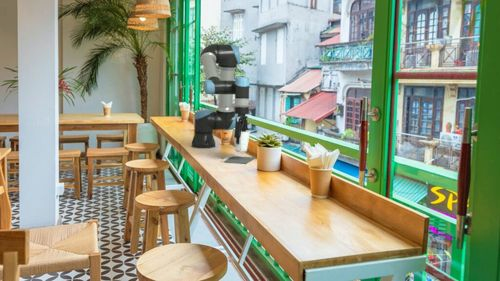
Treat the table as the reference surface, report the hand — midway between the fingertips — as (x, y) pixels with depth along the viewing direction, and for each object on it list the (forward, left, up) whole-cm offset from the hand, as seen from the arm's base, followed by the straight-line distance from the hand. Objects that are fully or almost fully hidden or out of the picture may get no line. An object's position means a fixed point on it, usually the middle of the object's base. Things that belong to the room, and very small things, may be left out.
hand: (241, 148), depth 245 cm
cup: (0, 0, -2) cm, 2 cm away
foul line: (-1, -8, -6) cm, 10 cm away
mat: (0, -1, -6) cm, 6 cm away
